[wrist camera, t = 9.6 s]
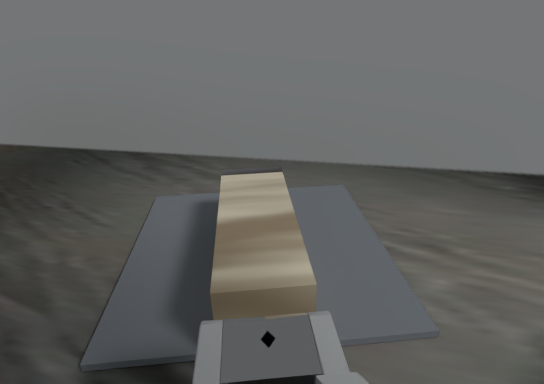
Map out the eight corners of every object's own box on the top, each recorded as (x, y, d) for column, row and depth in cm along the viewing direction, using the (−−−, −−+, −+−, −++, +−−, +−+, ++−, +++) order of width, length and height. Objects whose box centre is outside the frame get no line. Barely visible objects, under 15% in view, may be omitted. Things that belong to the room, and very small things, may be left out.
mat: (437, 337, 16) (439, 330, 16) (81, 371, 15) (79, 365, 15) (342, 188, 30) (343, 184, 30) (157, 200, 29) (156, 196, 29)
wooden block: (316, 284, 13) (280, 166, 24) (209, 293, 13) (222, 169, 23) (313, 357, 15) (281, 216, 26) (220, 366, 15) (227, 220, 25)
